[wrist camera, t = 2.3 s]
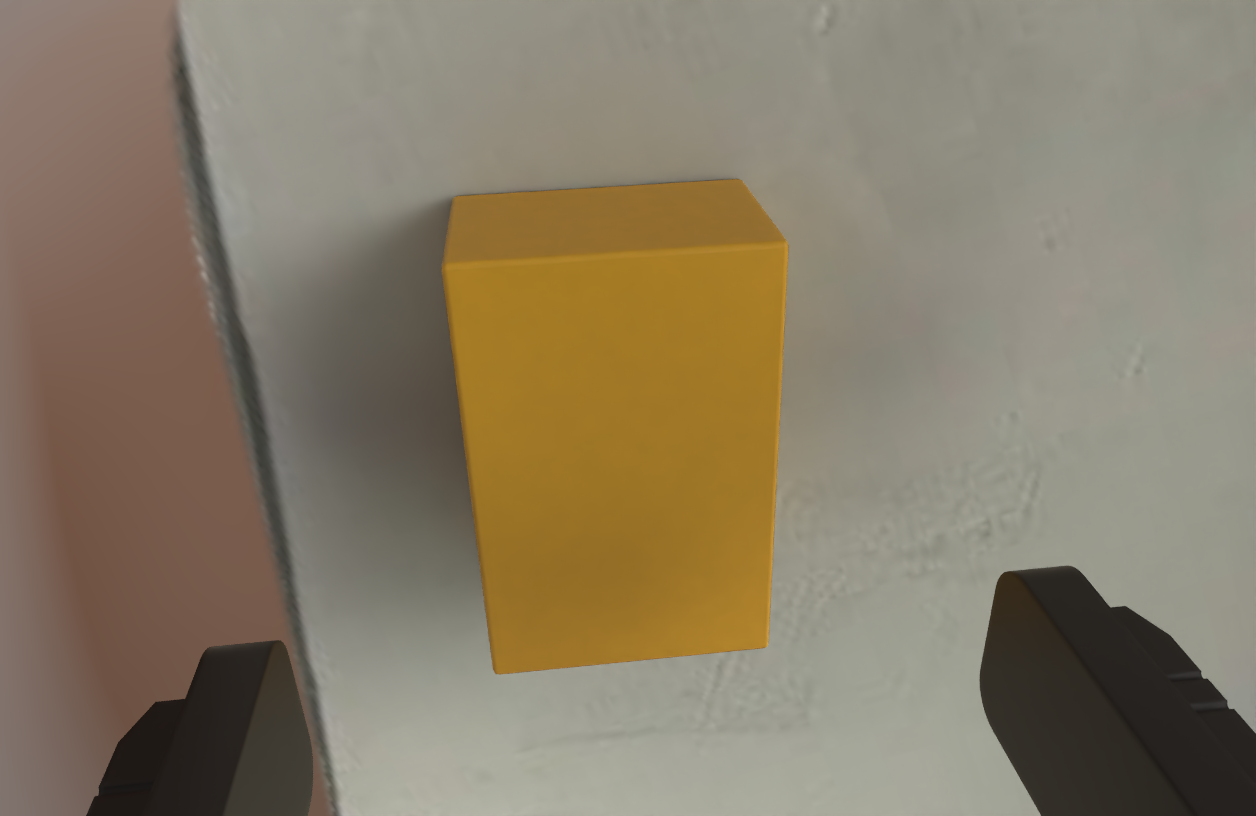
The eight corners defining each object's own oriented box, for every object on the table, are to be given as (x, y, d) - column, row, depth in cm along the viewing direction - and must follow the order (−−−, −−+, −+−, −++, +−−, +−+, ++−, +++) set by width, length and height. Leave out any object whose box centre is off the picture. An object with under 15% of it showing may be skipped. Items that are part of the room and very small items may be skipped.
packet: (451, 194, 15) (440, 264, 12) (742, 176, 15) (790, 241, 13) (494, 562, 19) (493, 677, 16) (733, 540, 19) (769, 650, 16)
